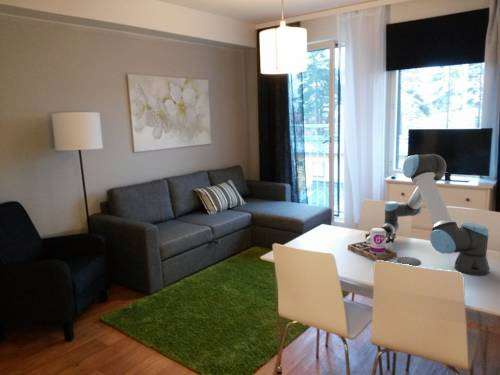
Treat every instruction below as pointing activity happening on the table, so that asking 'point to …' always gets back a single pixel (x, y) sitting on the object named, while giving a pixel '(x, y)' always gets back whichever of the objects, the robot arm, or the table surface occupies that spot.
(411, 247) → the table surface
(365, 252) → the parts tray
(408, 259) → the coaster
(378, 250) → the supplement can
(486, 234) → the robot arm
